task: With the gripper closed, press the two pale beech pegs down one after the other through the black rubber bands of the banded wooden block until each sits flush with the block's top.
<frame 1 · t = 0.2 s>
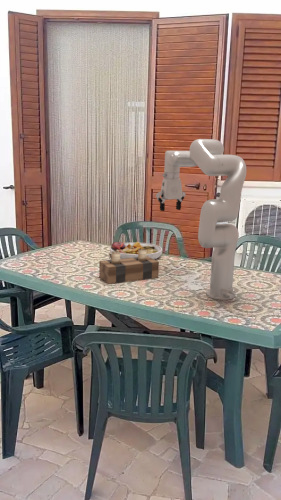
hand: (170, 210, 228), 31 cm above the table, tool pointing down, fingers open, 9 cm apart
beech peg 2: (115, 260, 214), point 9 cm above the table, slide at 5.0 cm
beech peg 1: (142, 257, 220), point 9 cm above the table, slide at 5.0 cm
bowl: (135, 256, 260), on the table
banded wooden block: (128, 277, 219), on the table
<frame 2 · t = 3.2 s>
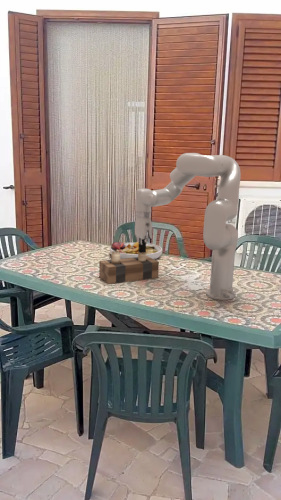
hand: (142, 251, 219), 12 cm above the table, tool pointing down, fingers closed
beech peg 1: (142, 259, 220), point 8 cm above the table, slide at 3.8 cm, touching gripper
everything else where it was.
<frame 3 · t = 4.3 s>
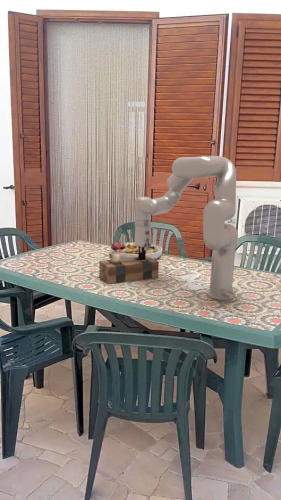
hand: (141, 259, 220), 8 cm above the table, tool pointing down, fingers closed
beech peg 1: (142, 267, 221), point 4 cm above the table, slide at -0.1 cm, touching gripper
everything else where it was.
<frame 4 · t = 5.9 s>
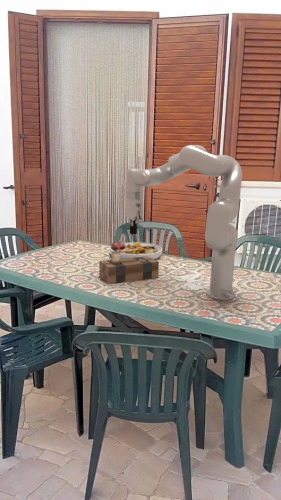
hand: (133, 233, 215), 21 cm above the table, tool pointing down, fingers closed
beech peg 1: (142, 267, 221), point 4 cm above the table, slide at -0.1 cm
everything else where it was.
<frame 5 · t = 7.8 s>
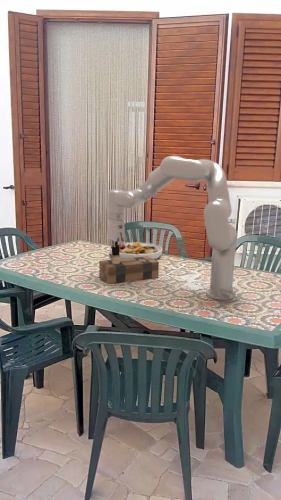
hand: (115, 254, 213), 12 cm above the table, tool pointing down, fingers closed
beech peg 2: (115, 262, 214), point 8 cm above the table, slide at 3.7 cm, touching gripper
everything else where it was.
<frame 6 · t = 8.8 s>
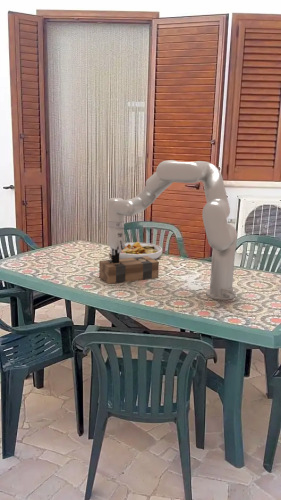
hand: (115, 262, 214), 8 cm above the table, tool pointing down, fingers closed
beech peg 2: (115, 270, 215), point 4 cm above the table, slide at 0.0 cm, touching gripper
everything else where it was.
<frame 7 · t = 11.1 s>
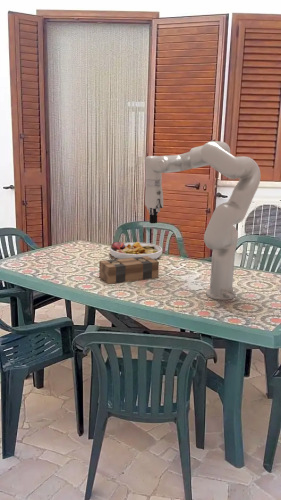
hand: (153, 222, 211), 27 cm above the table, tool pointing down, fingers closed
beech peg 2: (115, 270, 215), point 4 cm above the table, slide at 0.0 cm
everything else where it was.
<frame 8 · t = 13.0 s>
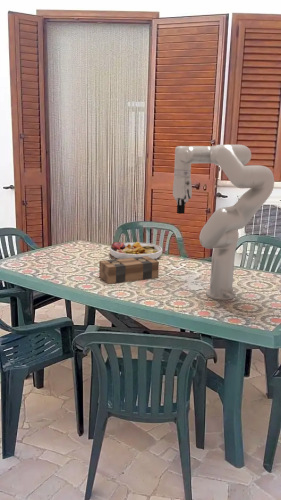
hand: (180, 213, 211), 32 cm above the table, tool pointing down, fingers closed
nothing on the table moved.
at the end: beech peg 1 slide at -0.1 cm; beech peg 2 slide at 0.0 cm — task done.
